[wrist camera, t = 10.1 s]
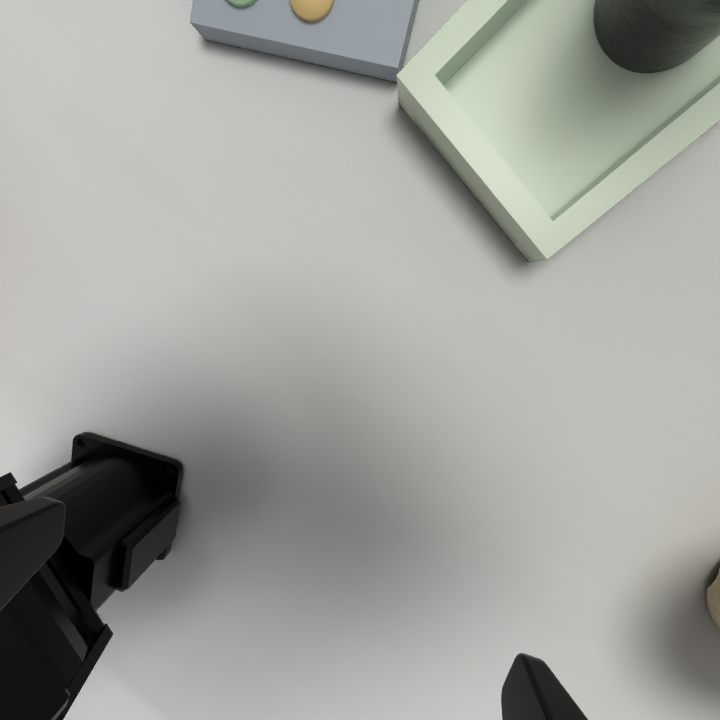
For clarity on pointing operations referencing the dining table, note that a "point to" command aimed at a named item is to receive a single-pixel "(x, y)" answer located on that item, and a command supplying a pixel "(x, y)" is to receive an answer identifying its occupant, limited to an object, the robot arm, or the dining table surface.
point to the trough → (550, 114)
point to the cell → (655, 31)
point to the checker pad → (315, 30)
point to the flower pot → (714, 600)
